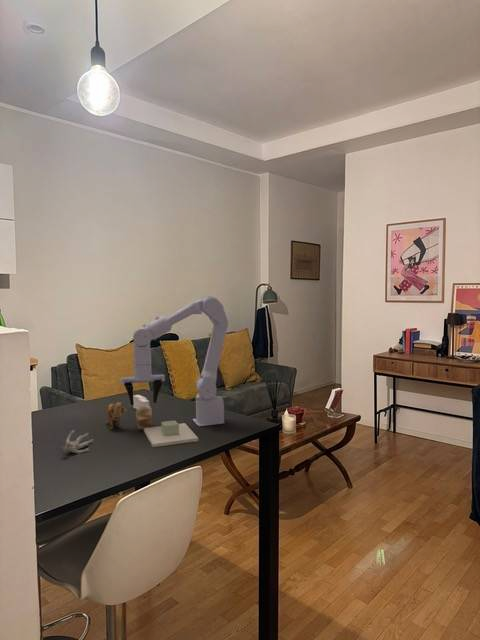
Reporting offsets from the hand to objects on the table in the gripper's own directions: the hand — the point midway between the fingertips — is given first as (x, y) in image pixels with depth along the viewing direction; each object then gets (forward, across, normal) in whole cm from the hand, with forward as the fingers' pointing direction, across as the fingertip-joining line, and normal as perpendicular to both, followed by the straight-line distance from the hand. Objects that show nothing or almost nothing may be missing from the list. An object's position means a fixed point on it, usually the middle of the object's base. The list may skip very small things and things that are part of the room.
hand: (143, 403), depth 155 cm
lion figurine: (+8, +9, -6) cm, 13 cm away
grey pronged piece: (+8, +22, +14) cm, 27 cm away
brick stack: (+8, 0, 0) cm, 8 cm away
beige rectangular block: (+9, -2, -20) cm, 22 cm away
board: (+8, -6, +13) cm, 16 cm away
